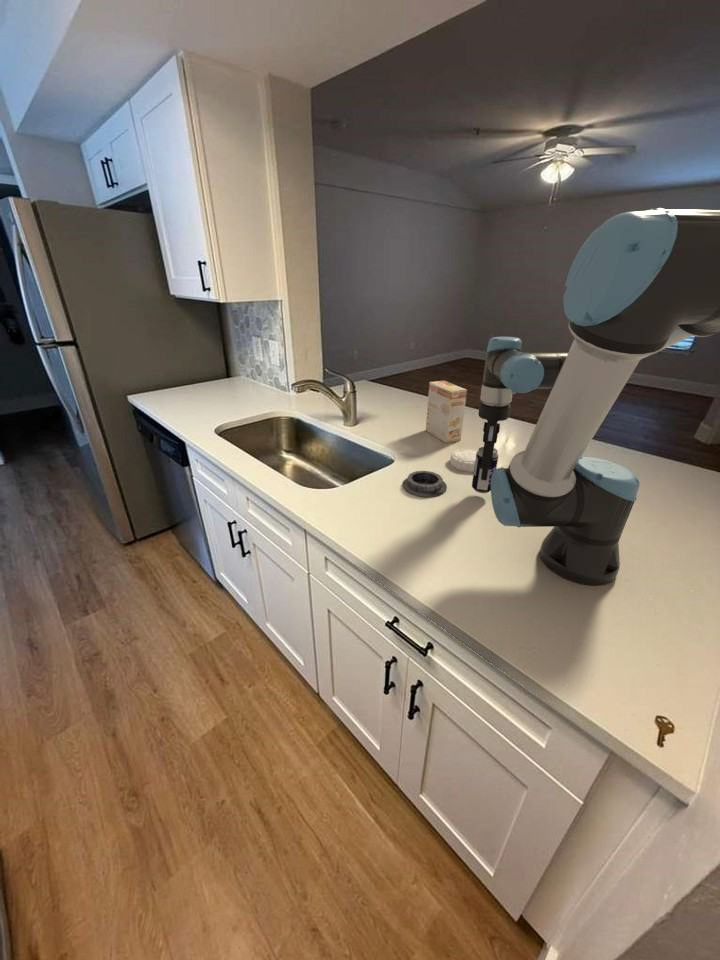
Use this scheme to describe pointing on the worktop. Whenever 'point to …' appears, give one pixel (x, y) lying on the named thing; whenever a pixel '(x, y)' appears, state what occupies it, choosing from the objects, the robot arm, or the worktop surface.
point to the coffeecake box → (445, 410)
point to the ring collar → (424, 484)
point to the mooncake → (464, 459)
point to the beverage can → (476, 469)
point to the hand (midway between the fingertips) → (482, 483)
